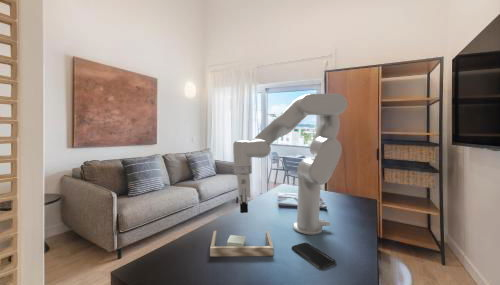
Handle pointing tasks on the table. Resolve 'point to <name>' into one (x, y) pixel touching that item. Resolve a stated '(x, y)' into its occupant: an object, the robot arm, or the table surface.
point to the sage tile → (236, 240)
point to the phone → (313, 255)
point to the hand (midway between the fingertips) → (244, 212)
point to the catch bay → (241, 249)
